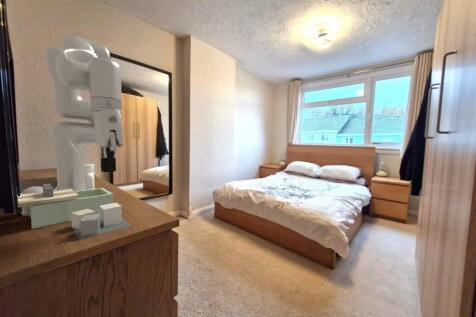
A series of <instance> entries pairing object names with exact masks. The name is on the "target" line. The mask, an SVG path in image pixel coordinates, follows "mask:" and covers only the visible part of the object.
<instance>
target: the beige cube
mask: <svg viewBox="0 0 476 317" xmlns="http://www.w3.org/2000/svg"><path fill="white" fill-rule="evenodd" d="M92 214H95V211H93V210H90V209H84V210H80V211H76V212H72V213H71V220H72V221H71V225H72V227H73V228H76V229H78V230H81V224H80V221H81V220H82V218H83V216H84V215H92ZM72 227H71V228H72Z"/></svg>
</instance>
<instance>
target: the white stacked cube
mask: <svg viewBox="0 0 476 317" xmlns="http://www.w3.org/2000/svg"><path fill="white" fill-rule="evenodd" d="M122 207H123V206H122V205H121V204H119V203H118V202H114V203H112V204H106V205H101V206H99V214H100V221H101V224H102V225H103V226H104V227H106V226H110V225H114V224H118V223H122V218H123V216H122V215H123V208H122Z"/></svg>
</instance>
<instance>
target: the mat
mask: <svg viewBox="0 0 476 317" xmlns="http://www.w3.org/2000/svg"><path fill="white" fill-rule="evenodd" d="M132 226H133V225H132V224H131V223H130V222H128V221H127V220H125V219H124V218H123V217H122V223H118V224H114V225H110V226H106V227H104V226H103V225H102V224H101V228H100V231H99V234H96V235H90V236H84V237H81V230H78V229H76V228H73V227H72V224H70V227H71V229H72V230H73V232H74V233H75V235H76V237H77V239H78V240H80V241H81V240H85V239H88V238H91V237H95V236H99V235H103V234H107V233H111V232H114V231H118V230H121V229H125V228H128V227H132Z"/></svg>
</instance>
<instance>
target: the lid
mask: <svg viewBox="0 0 476 317" xmlns="http://www.w3.org/2000/svg"><path fill="white" fill-rule="evenodd" d="M42 187H43V192H34V193H26V194H20V193H19V194H20V196H18V195H17V208H18V209H19V208H21V207H25V206H32V205H38V204H45V203H52V202H58V201H65V200H72V199H78V198H79V196H78V194H77V193H76V192H75V191H73V190H72V189H71V188H68V189H60V190H53V189H54V188H53V186H52V185H51V183H46V184H45V183H43V184H42Z"/></svg>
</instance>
